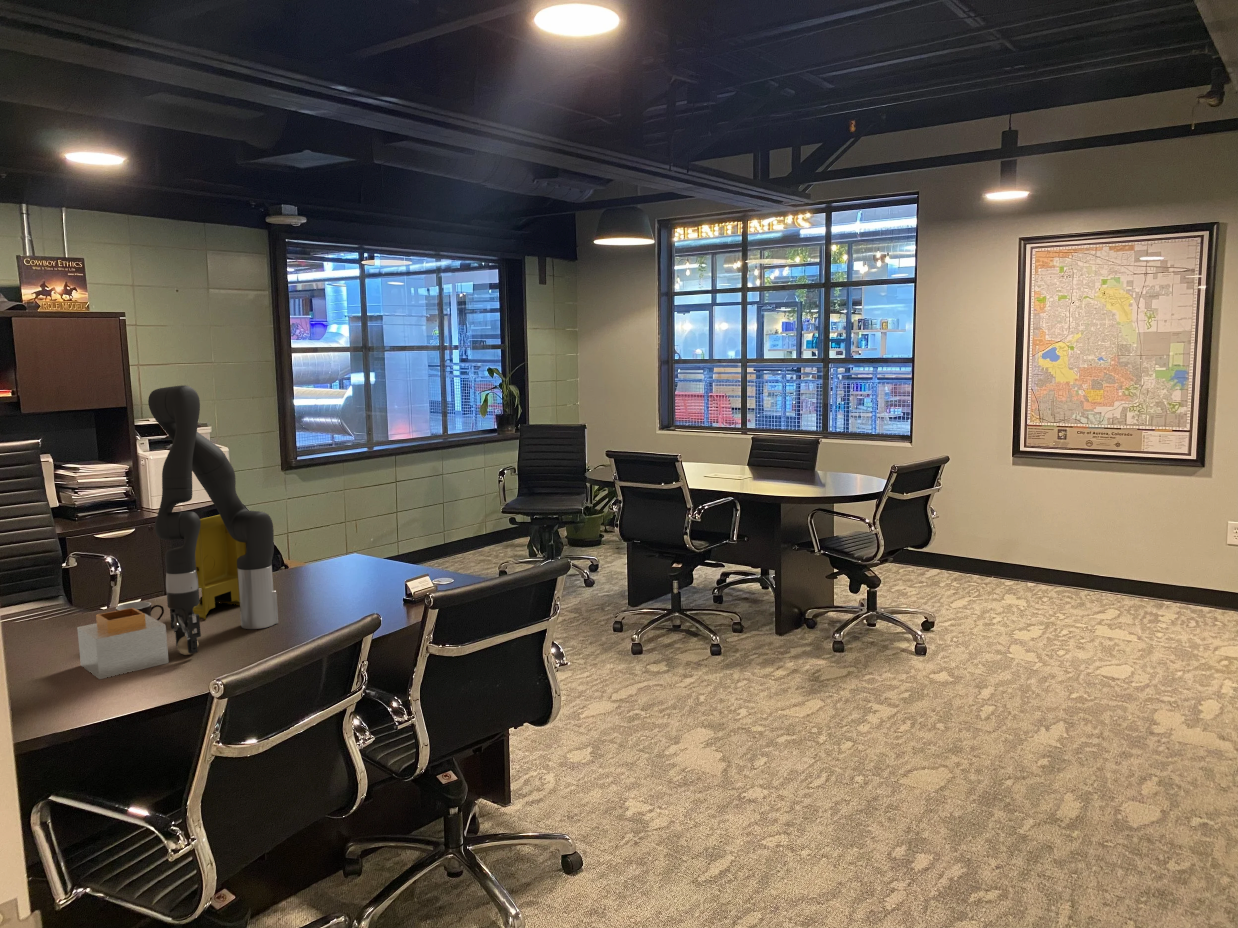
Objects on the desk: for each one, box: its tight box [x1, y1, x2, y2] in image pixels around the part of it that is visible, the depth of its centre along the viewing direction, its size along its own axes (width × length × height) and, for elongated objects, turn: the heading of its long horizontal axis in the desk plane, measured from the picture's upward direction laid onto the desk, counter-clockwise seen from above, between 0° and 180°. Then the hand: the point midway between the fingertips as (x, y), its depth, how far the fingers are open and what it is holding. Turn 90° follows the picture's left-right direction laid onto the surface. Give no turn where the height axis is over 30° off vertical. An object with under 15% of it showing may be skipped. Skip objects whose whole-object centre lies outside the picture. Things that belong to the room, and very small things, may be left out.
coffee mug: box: [115, 601, 165, 621], centre depth 253 cm, size 12×9×10 cm
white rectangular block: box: [76, 608, 169, 680], centre depth 234 cm, size 16×15×13 cm
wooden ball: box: [176, 635, 199, 656], centre depth 241 cm, size 5×5×5 cm
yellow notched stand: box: [193, 514, 247, 621], centre depth 282 cm, size 31×14×30 cm, turn 160°
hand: (187, 649), depth 241 cm, fingers open, 8 cm apart
